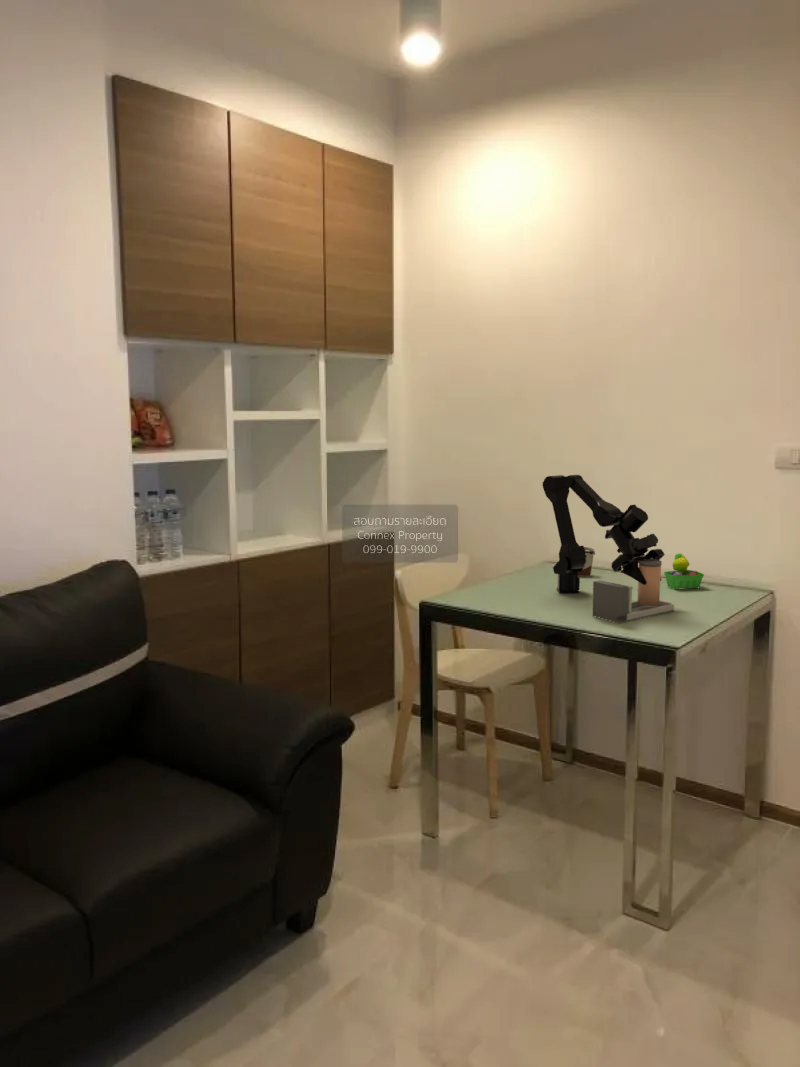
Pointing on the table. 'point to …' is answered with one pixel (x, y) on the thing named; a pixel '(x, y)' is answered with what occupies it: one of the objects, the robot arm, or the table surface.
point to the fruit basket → (682, 574)
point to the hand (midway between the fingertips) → (652, 582)
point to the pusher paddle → (629, 598)
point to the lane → (621, 603)
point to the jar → (649, 582)
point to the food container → (587, 562)
